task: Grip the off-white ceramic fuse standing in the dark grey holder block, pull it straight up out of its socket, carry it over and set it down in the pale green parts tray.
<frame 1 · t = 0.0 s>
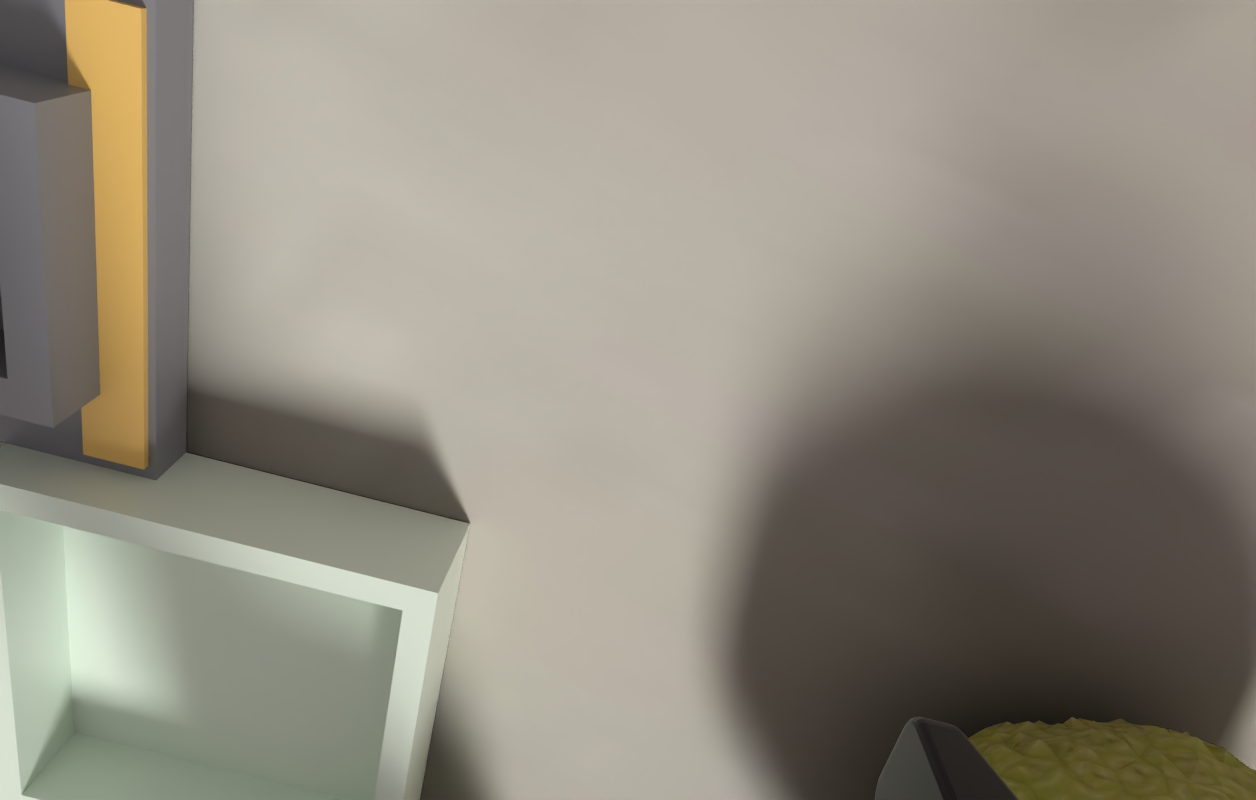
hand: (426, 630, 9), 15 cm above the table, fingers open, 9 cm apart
tray: (247, 636, 29), on the table
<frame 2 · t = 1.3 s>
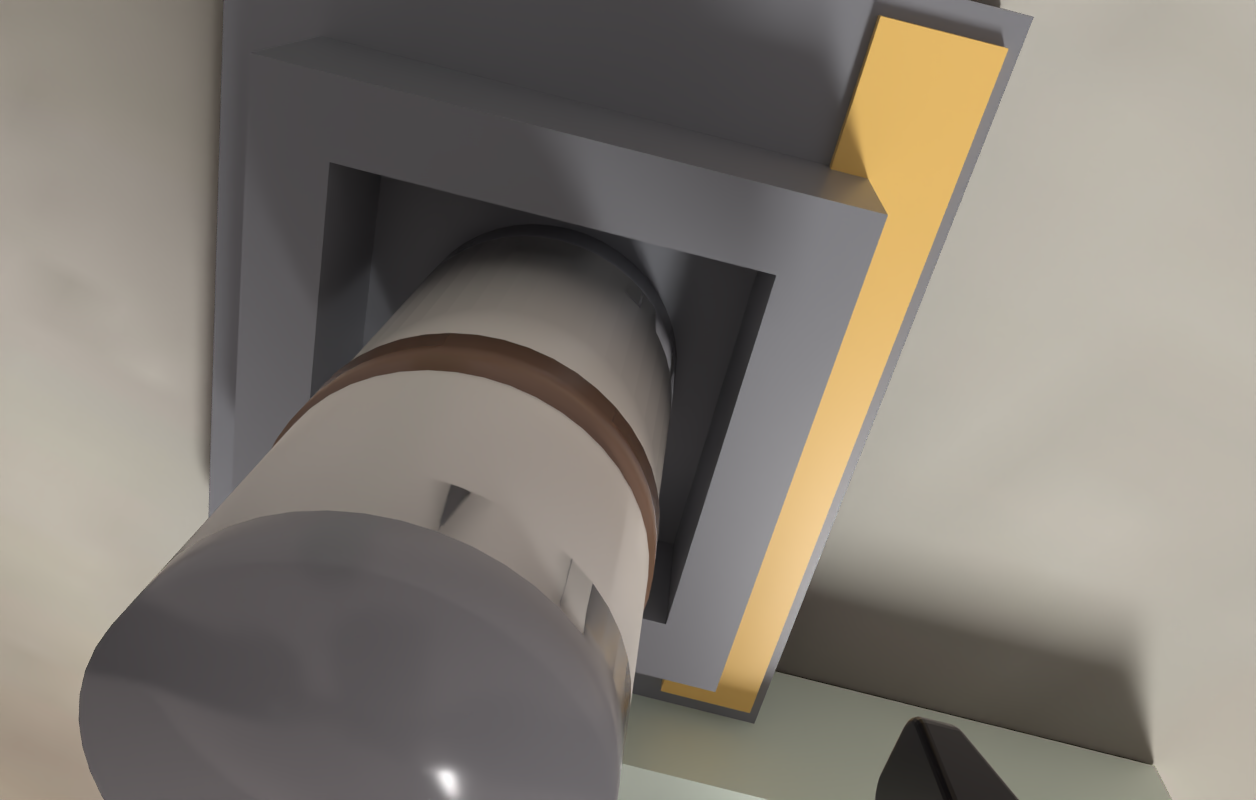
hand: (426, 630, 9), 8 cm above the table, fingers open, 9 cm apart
fuse: (542, 355, 14), point 1 cm above the table, touching holder
holder: (559, 319, 15), on the table
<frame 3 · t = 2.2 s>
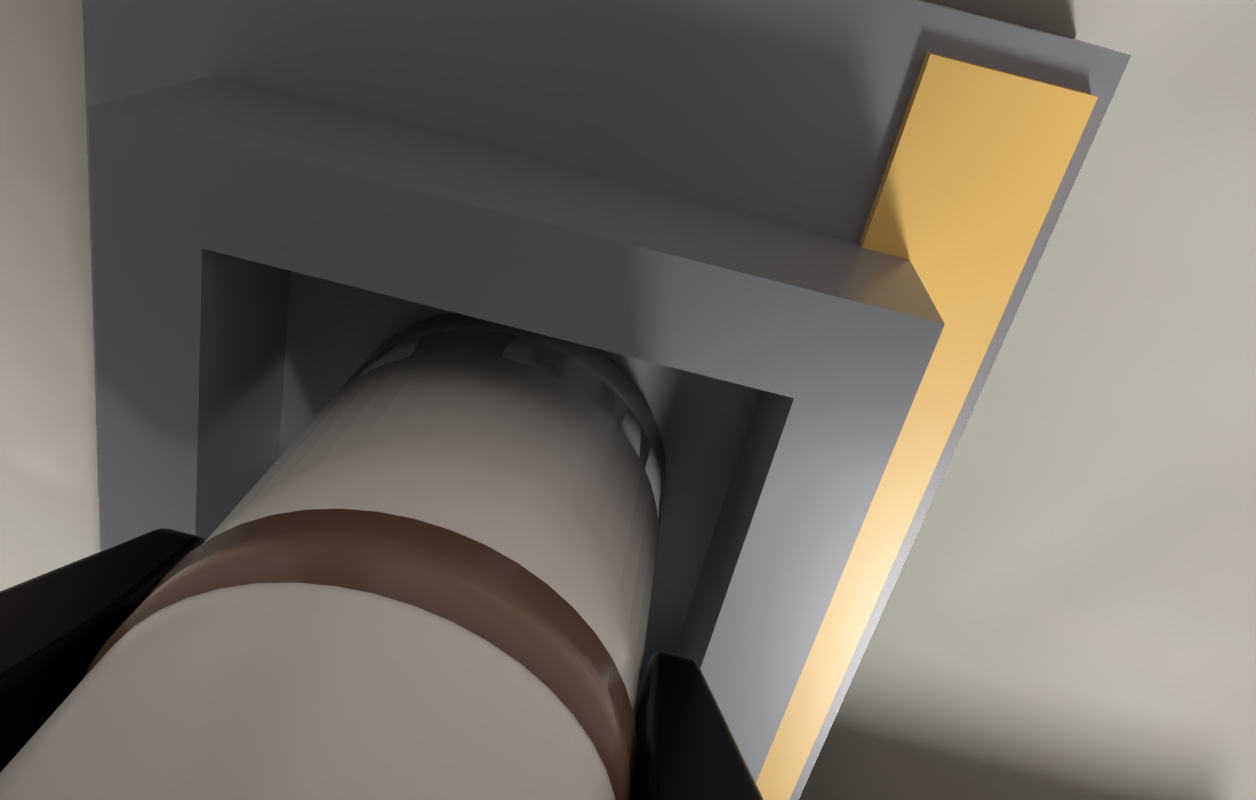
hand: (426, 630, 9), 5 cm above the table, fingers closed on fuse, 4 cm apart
fuse: (499, 466, 11), point 1 cm above the table, touching gripper, holder
holder: (524, 410, 13), on the table
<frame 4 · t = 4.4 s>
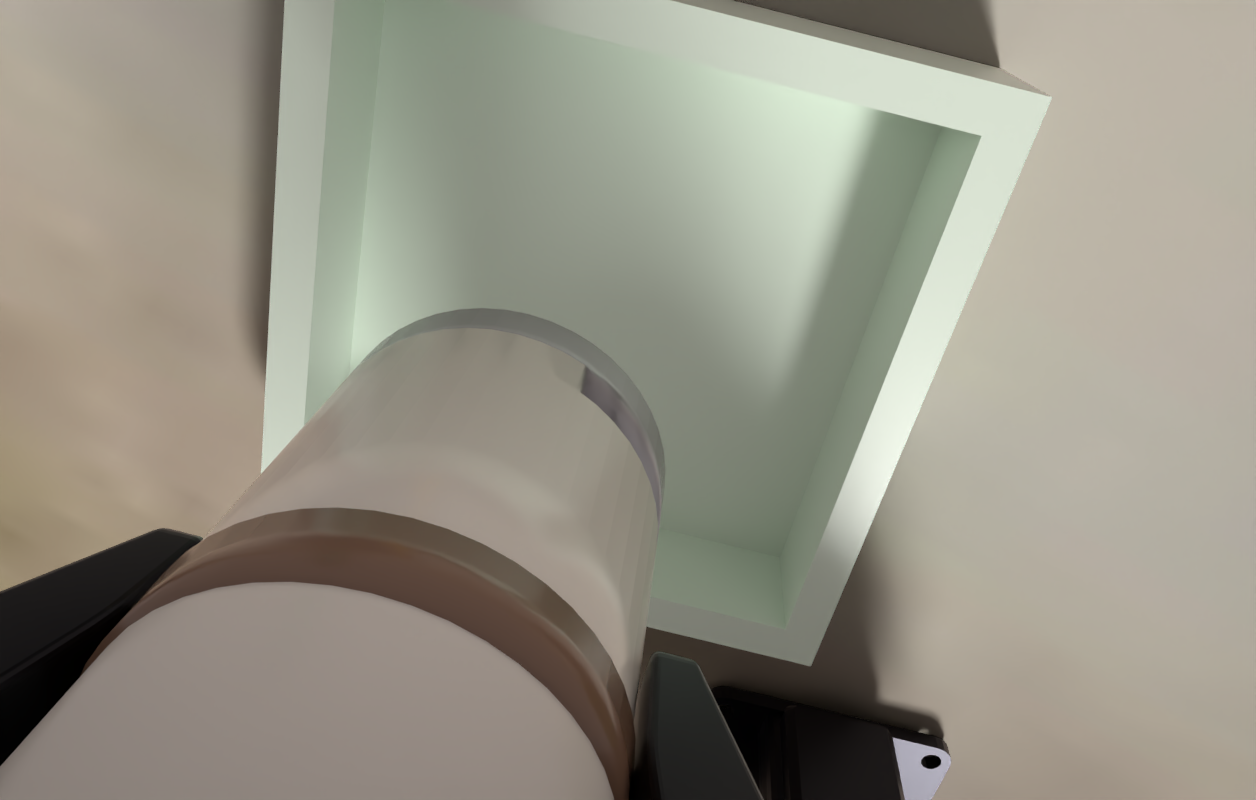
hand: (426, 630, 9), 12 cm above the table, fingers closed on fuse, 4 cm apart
fuse: (498, 465, 11), point 9 cm above the table, touching gripper
tray: (612, 289, 20), on the table
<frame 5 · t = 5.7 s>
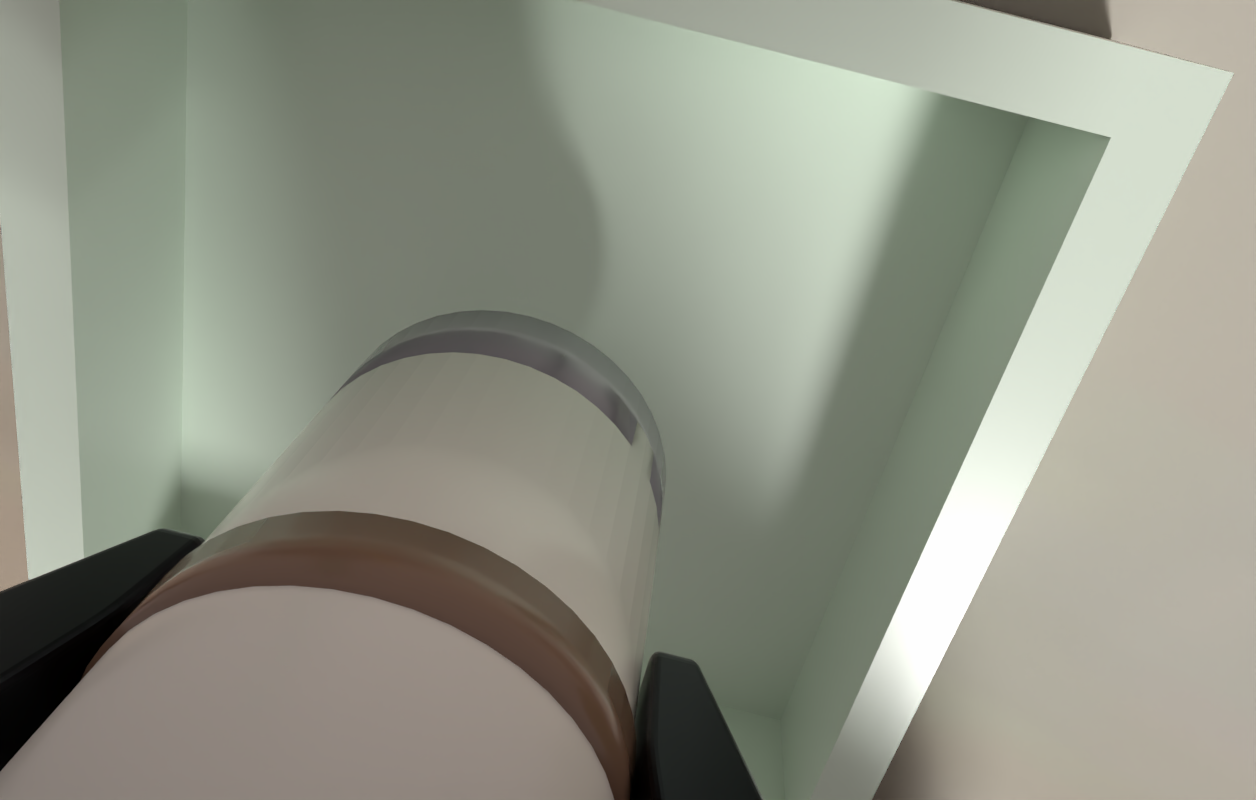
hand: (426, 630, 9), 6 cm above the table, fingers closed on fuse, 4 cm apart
fuse: (499, 467, 11), point 3 cm above the table, touching gripper
tray: (544, 357, 14), on the table
when the fingers open (5 cm above the table, at t = 6.6 s): fuse drops 2 cm, resting on tray.
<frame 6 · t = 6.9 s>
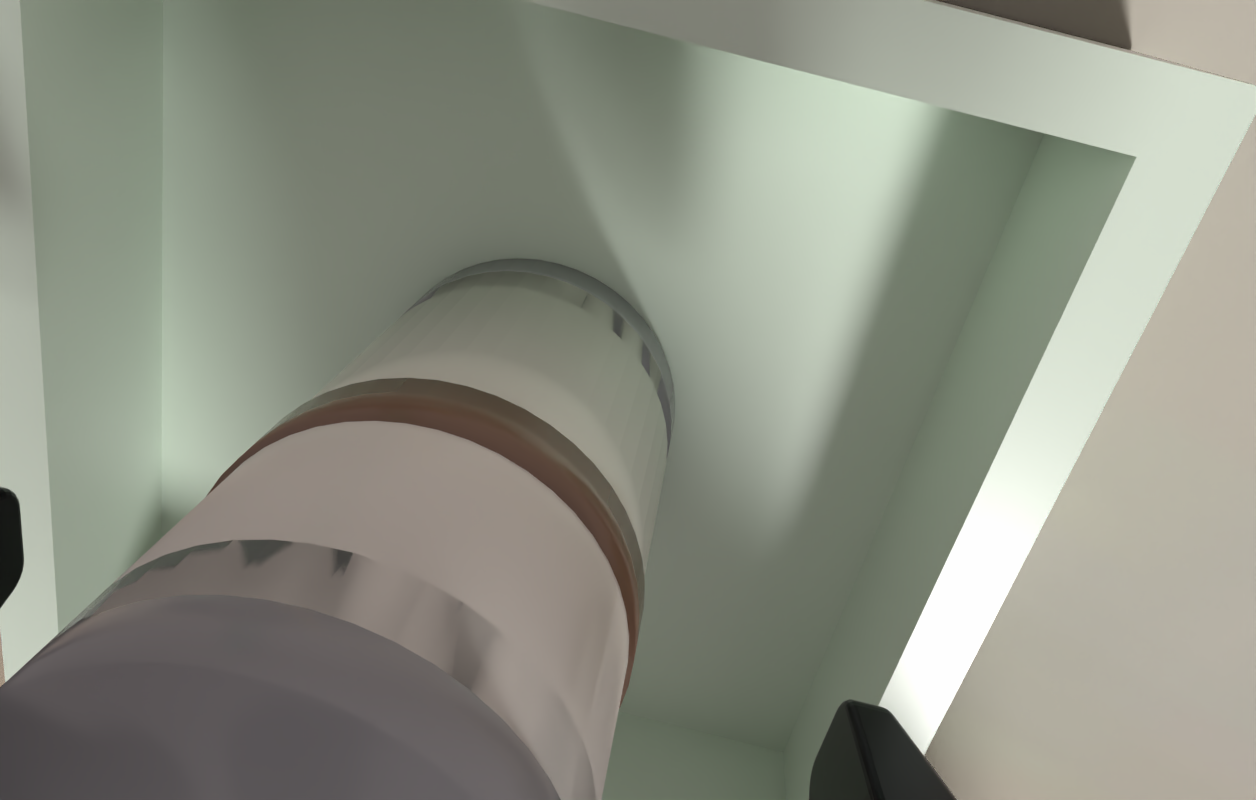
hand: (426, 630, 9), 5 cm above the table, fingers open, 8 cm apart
fuse: (529, 400, 13), point 1 cm above the table, touching tray
tray: (537, 378, 14), on the table
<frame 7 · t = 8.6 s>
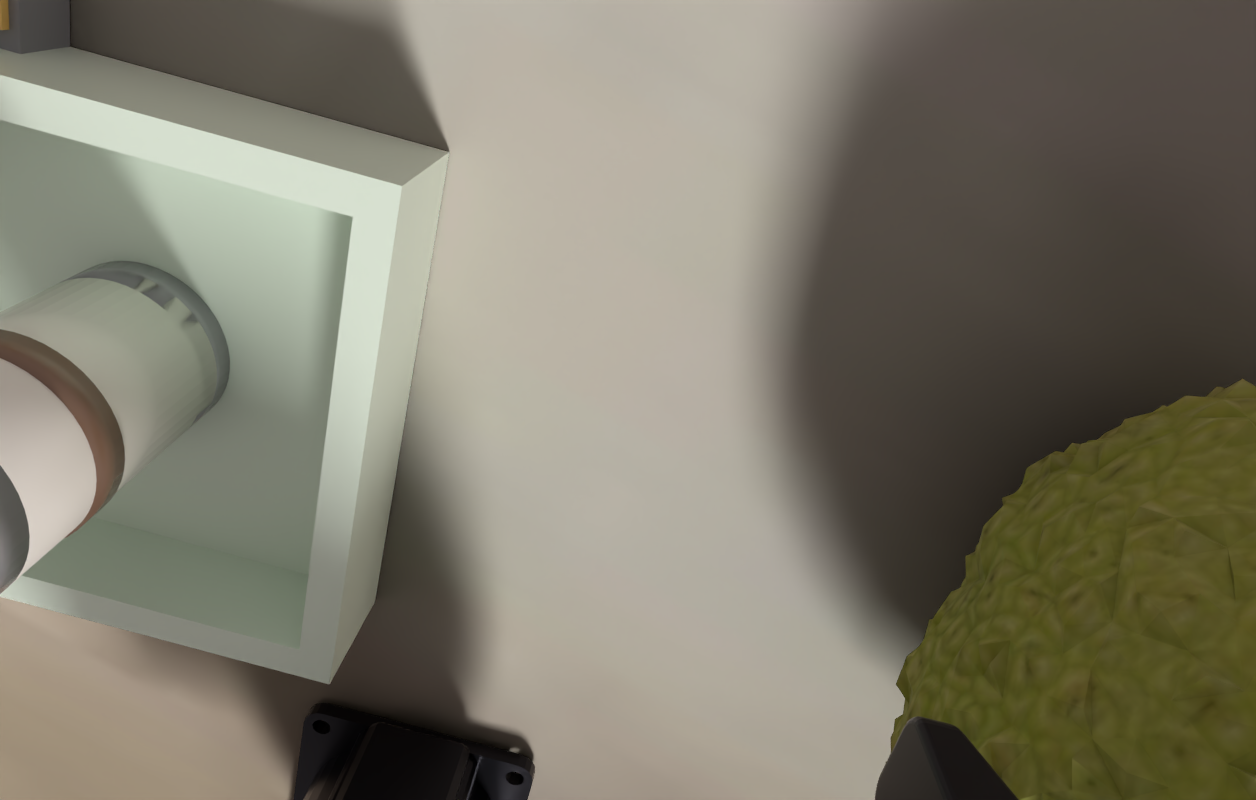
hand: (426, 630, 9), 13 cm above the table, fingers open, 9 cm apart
fuse: (144, 345, 21), point 1 cm above the table, touching tray
tray: (157, 335, 22), on the table
fruit: (1139, 598, 23), on the table
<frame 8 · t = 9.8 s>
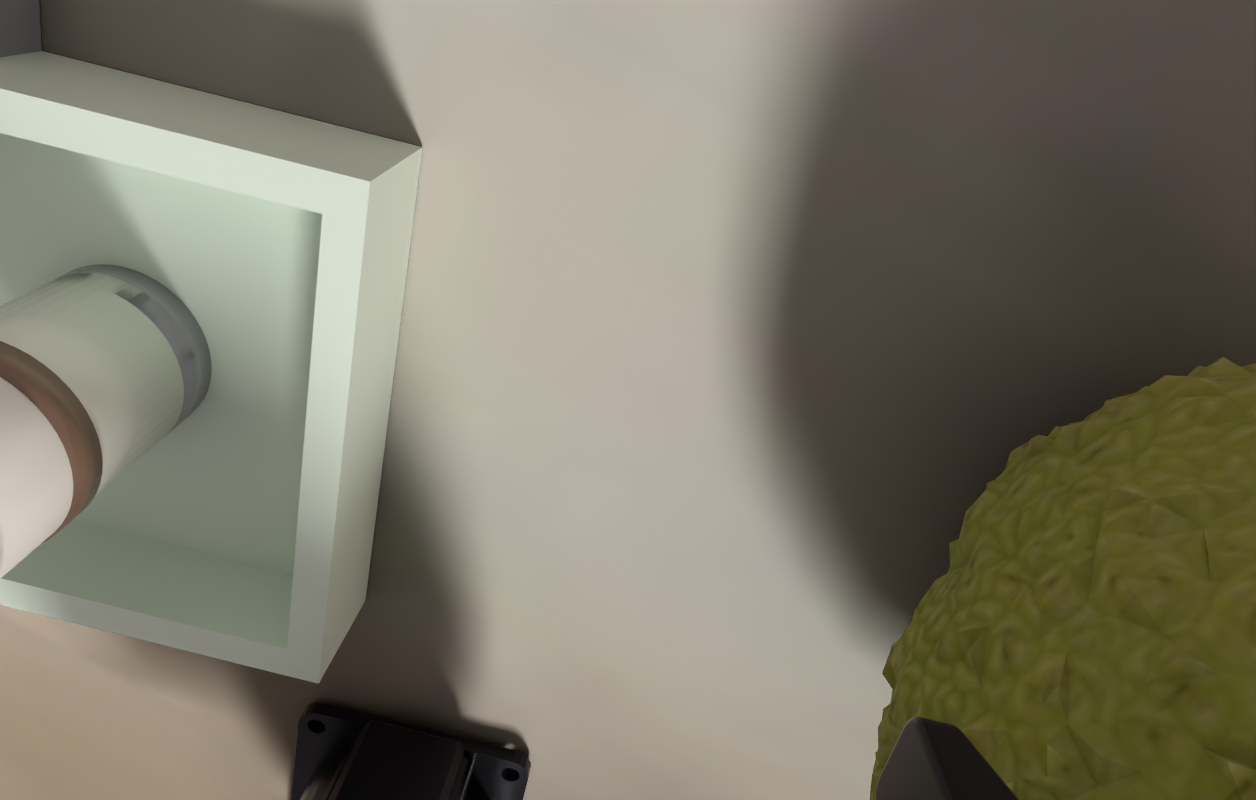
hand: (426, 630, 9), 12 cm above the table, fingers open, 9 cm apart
fuse: (125, 349, 21), point 1 cm above the table, touching tray
tray: (139, 338, 22), on the table
fruit: (1133, 582, 22), on the table
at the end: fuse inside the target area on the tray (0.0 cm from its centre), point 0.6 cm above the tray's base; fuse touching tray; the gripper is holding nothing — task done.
